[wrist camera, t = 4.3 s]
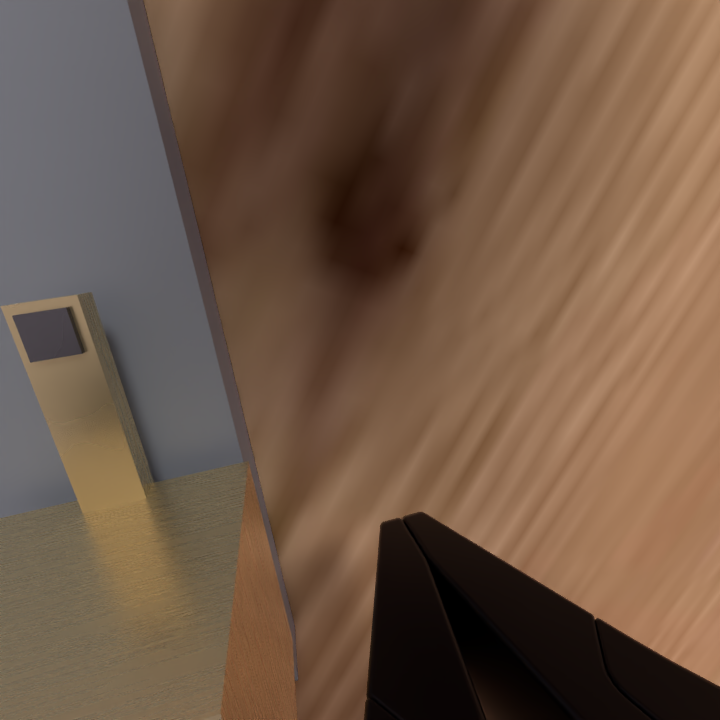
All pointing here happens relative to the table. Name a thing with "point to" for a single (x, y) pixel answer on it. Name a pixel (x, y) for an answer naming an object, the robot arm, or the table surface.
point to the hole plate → (107, 246)
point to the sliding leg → (131, 562)
